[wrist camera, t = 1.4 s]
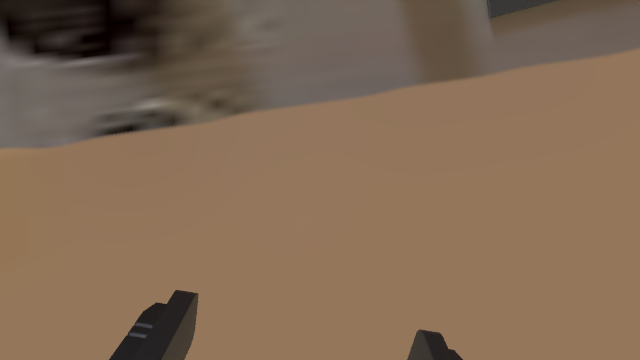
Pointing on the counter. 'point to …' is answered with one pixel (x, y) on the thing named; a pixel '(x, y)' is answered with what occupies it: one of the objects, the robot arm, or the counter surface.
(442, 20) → the counter surface
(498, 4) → the corner mat
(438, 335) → the robot arm
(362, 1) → the counter surface
